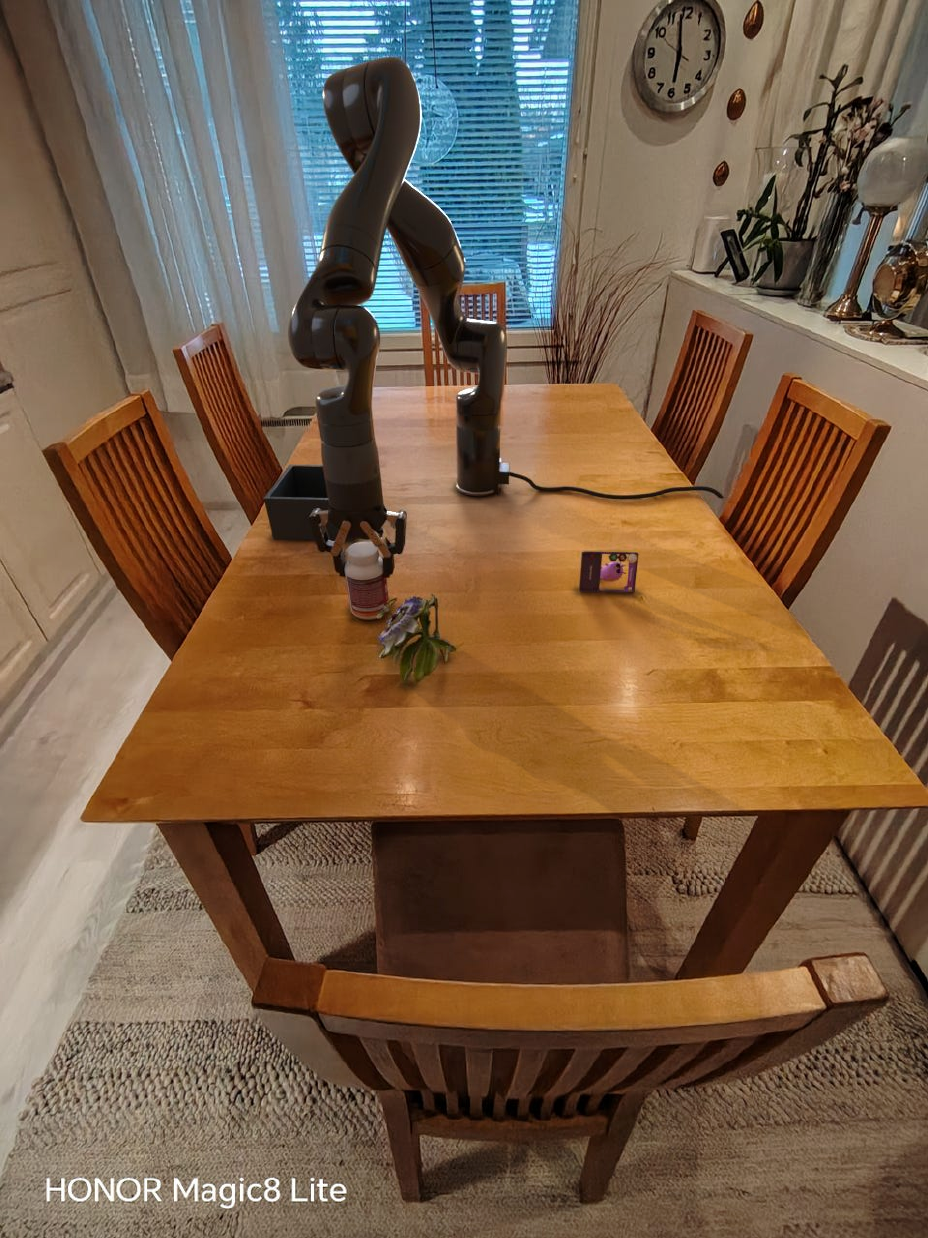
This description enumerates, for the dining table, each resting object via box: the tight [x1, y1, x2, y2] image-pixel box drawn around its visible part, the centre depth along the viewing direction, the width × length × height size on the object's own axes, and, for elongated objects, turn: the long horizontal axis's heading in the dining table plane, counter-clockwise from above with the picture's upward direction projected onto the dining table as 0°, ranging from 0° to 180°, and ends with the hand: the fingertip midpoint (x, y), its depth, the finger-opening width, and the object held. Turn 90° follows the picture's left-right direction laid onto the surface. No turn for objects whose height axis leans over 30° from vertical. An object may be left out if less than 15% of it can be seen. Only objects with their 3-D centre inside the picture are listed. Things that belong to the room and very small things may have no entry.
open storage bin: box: [263, 464, 356, 543], centre depth 115 cm, size 16×16×8 cm
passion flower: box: [375, 593, 457, 686], centre depth 82 cm, size 11×11×12 cm
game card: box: [578, 550, 639, 594], centre depth 97 cm, size 7×5×9 cm
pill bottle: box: [344, 541, 390, 621], centre depth 90 cm, size 6×6×11 cm
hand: (365, 574), depth 89 cm, fingers closed on pill bottle, 6 cm apart
